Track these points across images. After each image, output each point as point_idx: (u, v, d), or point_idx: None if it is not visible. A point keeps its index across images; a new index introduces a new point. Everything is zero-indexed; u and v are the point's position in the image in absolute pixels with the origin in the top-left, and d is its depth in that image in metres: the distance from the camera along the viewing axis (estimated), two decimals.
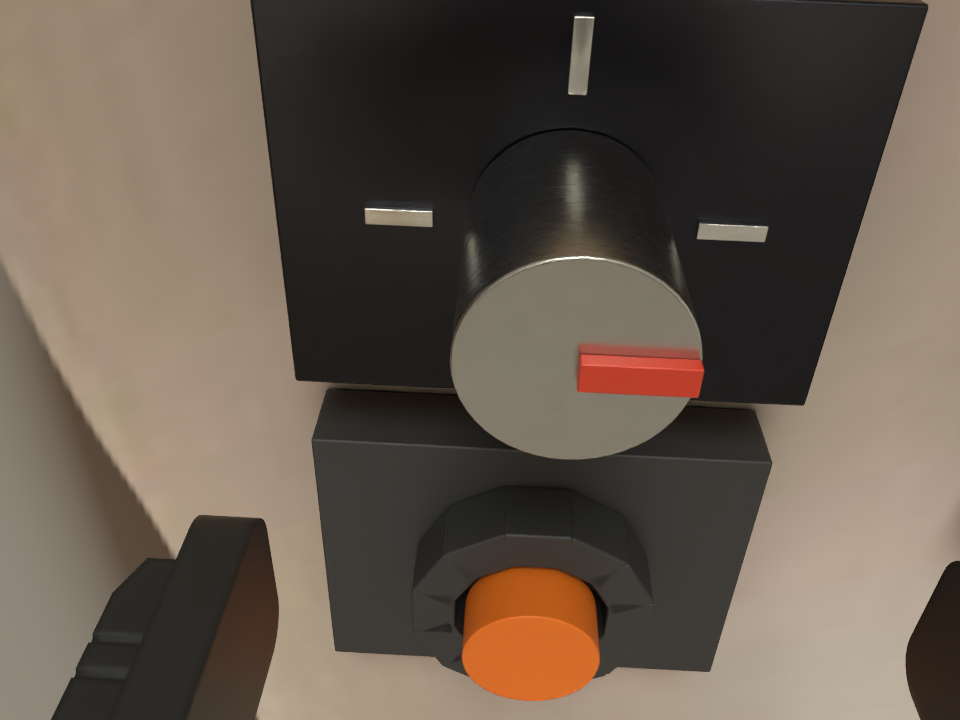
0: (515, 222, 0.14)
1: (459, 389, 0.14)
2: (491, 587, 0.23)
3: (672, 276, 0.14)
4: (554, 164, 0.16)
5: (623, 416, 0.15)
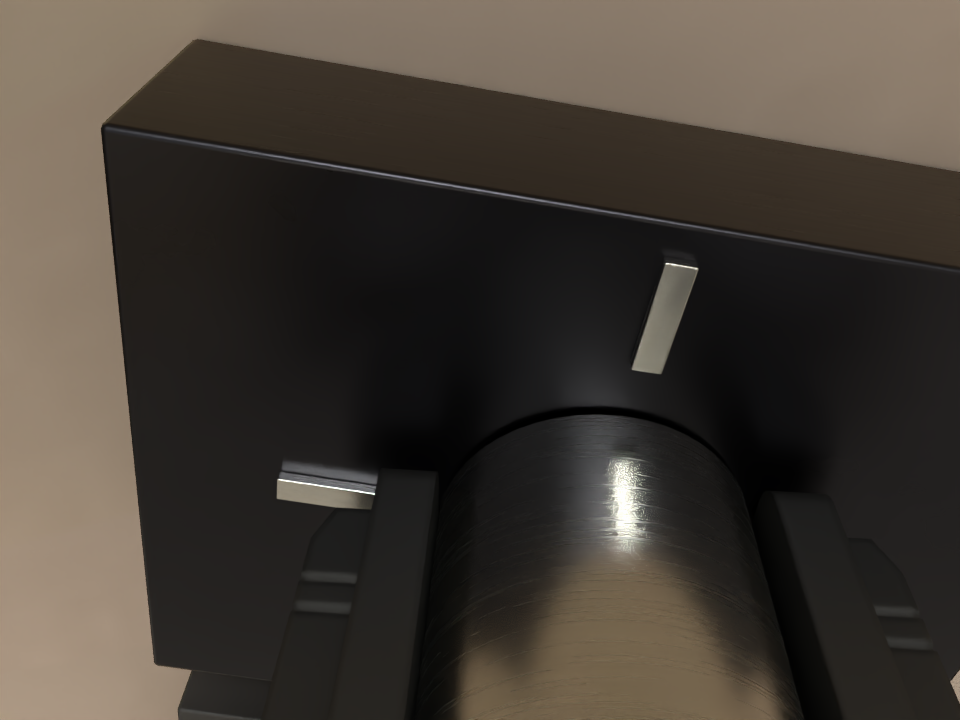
0: (528, 671, 0.08)
1: None
2: None
3: None
4: (595, 510, 0.09)
5: None
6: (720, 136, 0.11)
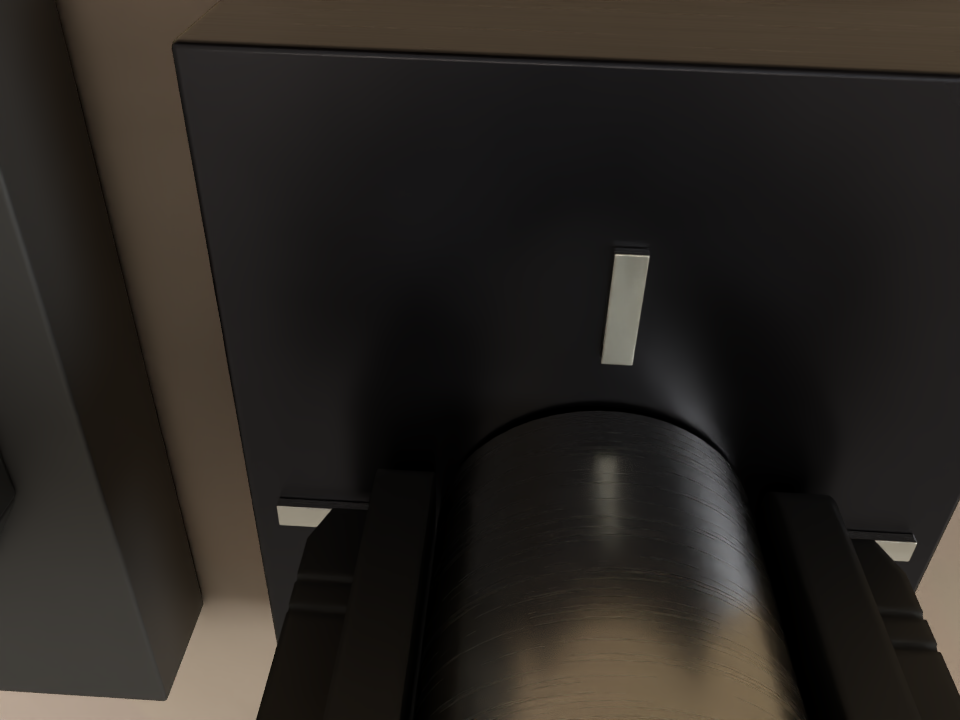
0: (524, 670, 0.08)
1: None
2: None
3: None
4: (592, 507, 0.09)
5: None
6: None
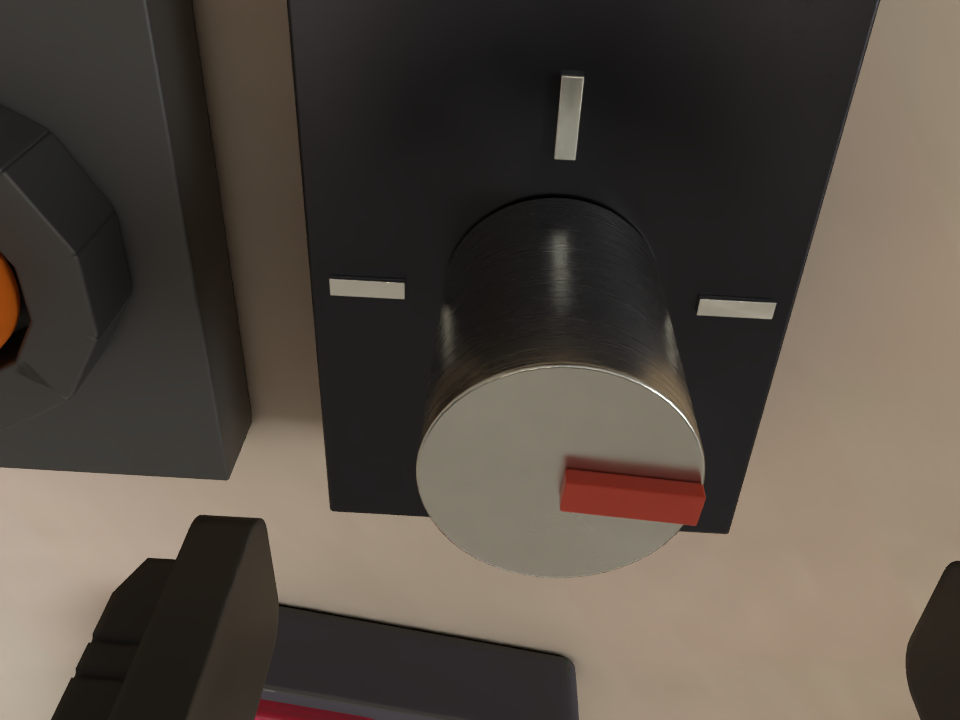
0: (501, 309, 0.12)
1: (424, 497, 0.12)
2: None
3: (676, 388, 0.12)
4: (547, 240, 0.14)
5: (608, 536, 0.13)
6: None
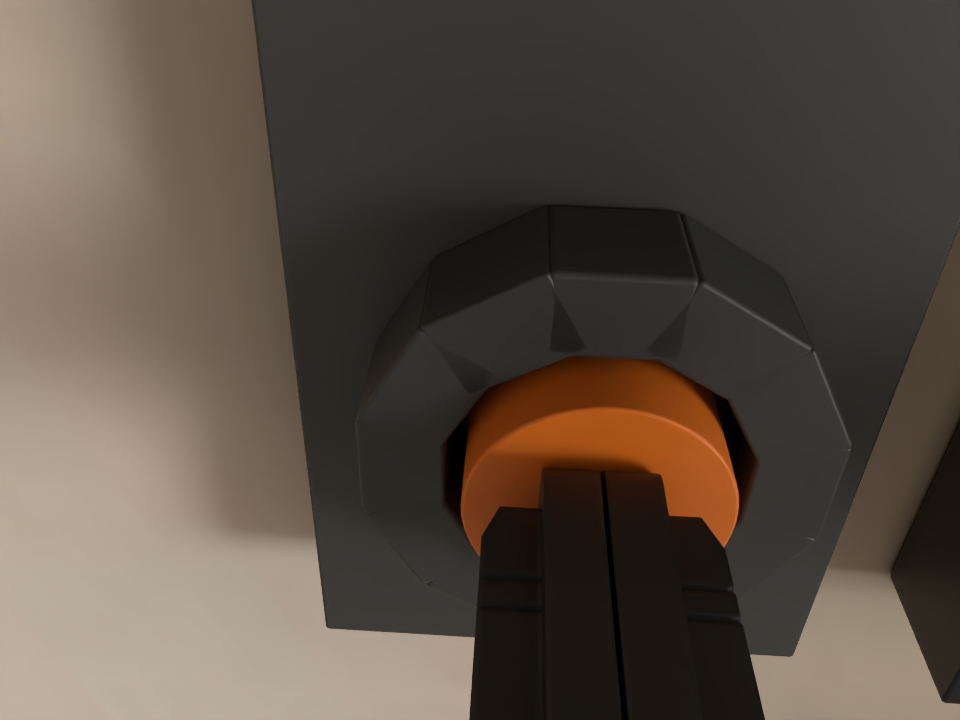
0: None
1: None
2: (707, 398, 0.12)
3: None
4: None
5: None
6: None
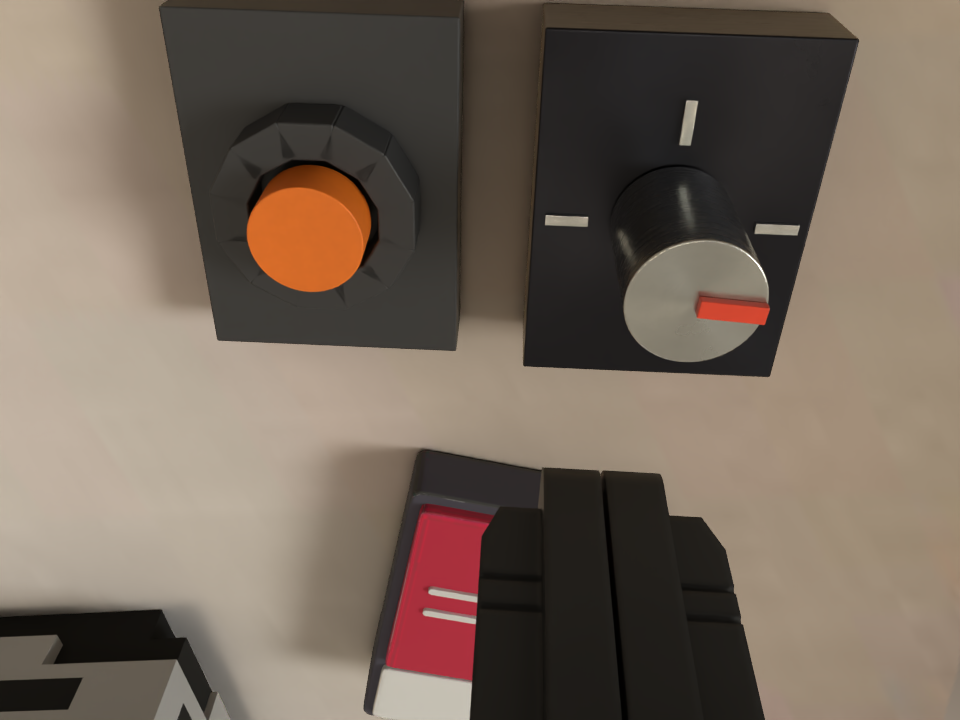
0: (664, 220, 0.25)
1: (626, 314, 0.25)
2: (354, 194, 0.27)
3: (755, 255, 0.24)
4: (679, 187, 0.26)
5: (718, 335, 0.25)
6: None
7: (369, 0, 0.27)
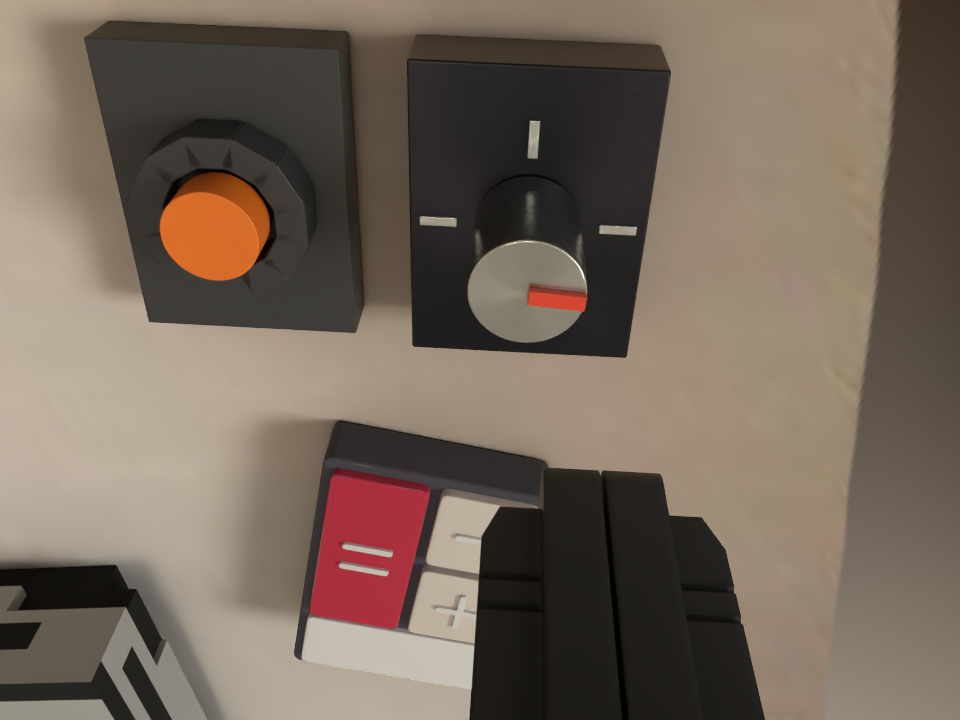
0: (502, 222, 0.30)
1: (470, 301, 0.30)
2: (252, 197, 0.32)
3: (574, 253, 0.29)
4: (523, 194, 0.31)
5: (549, 320, 0.30)
6: None
7: (266, 32, 0.32)
